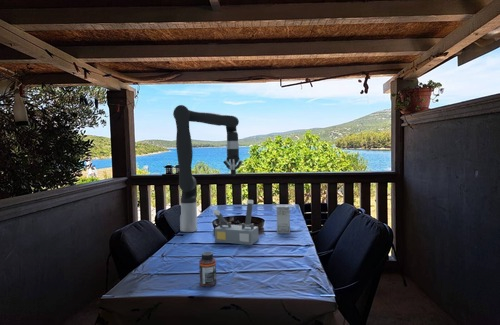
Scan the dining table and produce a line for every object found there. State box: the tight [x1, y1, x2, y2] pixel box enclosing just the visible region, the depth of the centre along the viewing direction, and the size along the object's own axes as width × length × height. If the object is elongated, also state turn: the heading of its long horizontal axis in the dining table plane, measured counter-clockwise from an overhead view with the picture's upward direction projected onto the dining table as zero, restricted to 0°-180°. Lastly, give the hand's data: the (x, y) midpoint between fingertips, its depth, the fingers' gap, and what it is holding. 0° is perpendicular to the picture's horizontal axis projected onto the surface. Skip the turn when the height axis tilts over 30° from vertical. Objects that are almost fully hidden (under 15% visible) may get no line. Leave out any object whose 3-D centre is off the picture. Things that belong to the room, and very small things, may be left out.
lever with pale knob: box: [212, 209, 229, 226], centre depth 165 cm, size 3×2×14 cm
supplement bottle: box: [198, 251, 217, 287], centre depth 114 cm, size 6×6×11 cm
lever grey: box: [244, 199, 254, 227], centre depth 167 cm, size 3×2×14 cm, turn 68°
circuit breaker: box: [276, 204, 291, 234], centre depth 188 cm, size 8×14×15 cm, turn 174°
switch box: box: [214, 221, 259, 246], centre depth 168 cm, size 21×10×10 cm, turn 68°
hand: (233, 175), depth 199 cm, fingers closed
